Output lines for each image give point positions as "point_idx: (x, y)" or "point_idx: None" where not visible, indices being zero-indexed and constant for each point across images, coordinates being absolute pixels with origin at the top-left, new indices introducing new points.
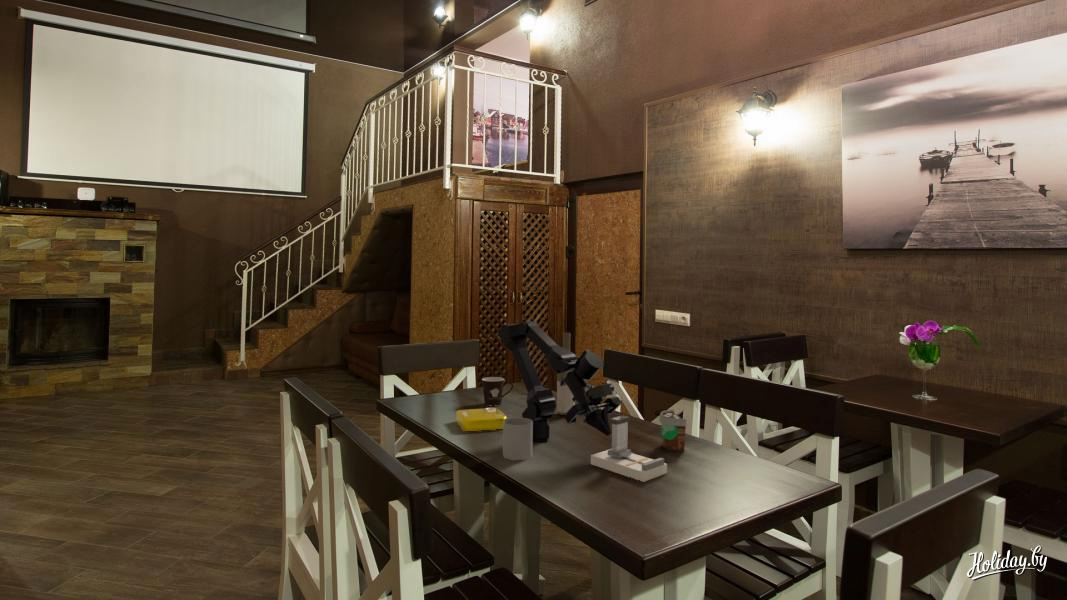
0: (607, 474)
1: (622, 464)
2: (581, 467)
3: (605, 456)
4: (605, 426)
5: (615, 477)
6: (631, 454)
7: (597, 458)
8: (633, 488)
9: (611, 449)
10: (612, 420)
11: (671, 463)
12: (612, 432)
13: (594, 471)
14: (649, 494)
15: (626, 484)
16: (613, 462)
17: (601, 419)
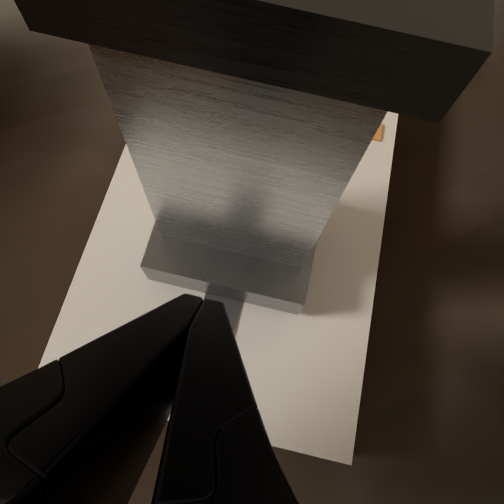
0: (425, 257)
1: (376, 162)
2: (438, 476)
3: (302, 336)
4: (221, 357)
5: (433, 199)
6: (136, 195)
7: (359, 382)
8: (495, 75)
9: (264, 289)
10: (477, 17)
11: (21, 48)
12: (347, 180)
13: (439, 350)
14: (501, 6)
15: (476, 117)
16: (383, 224)
17: (210, 471)
